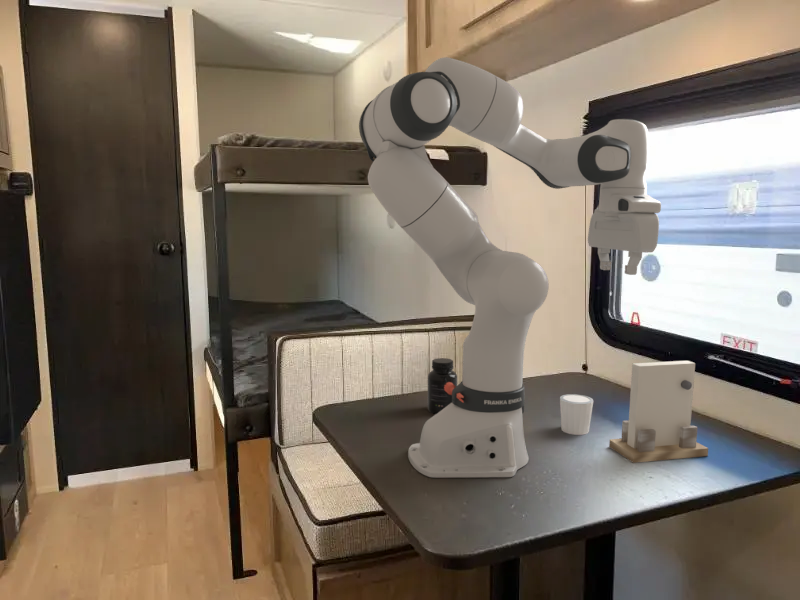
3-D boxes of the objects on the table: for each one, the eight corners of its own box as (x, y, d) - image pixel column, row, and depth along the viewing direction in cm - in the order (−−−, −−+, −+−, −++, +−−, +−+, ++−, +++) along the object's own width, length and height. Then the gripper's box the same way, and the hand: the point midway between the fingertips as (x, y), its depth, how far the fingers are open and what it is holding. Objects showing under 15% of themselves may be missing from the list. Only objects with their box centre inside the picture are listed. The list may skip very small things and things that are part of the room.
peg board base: (633, 462, 114) (634, 434, 113) (609, 446, 122) (610, 420, 121) (707, 455, 118) (710, 428, 117) (680, 440, 125) (682, 414, 125)
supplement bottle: (431, 405, 147) (431, 355, 146) (459, 407, 146) (460, 358, 144) (424, 413, 141) (425, 362, 139) (453, 416, 139) (454, 364, 137)
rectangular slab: (637, 450, 116) (642, 367, 114) (627, 444, 119) (632, 363, 117) (692, 445, 119) (698, 364, 117) (681, 439, 122) (687, 360, 120)
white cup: (568, 422, 136) (570, 391, 135) (597, 430, 131) (599, 398, 130) (552, 429, 131) (553, 398, 130) (581, 438, 126) (583, 405, 125)
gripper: (582, 203, 133) (578, 267, 135) (636, 202, 114) (631, 277, 116) (609, 204, 135) (605, 267, 137) (667, 203, 115) (661, 277, 117)
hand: (617, 272), depth 126 cm, fingers open, 8 cm apart
